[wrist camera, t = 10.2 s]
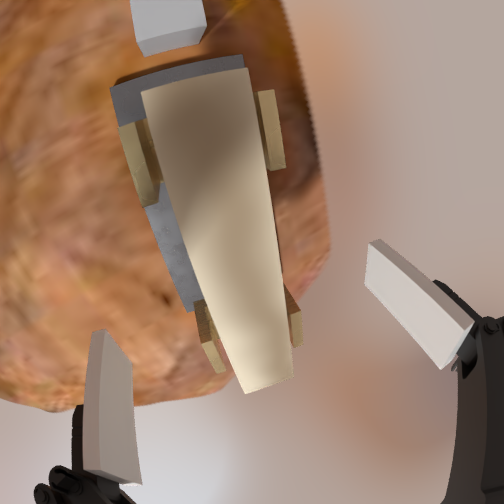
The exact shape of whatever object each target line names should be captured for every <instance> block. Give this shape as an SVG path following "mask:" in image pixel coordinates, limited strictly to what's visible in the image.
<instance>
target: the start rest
mask: <svg viewBox="0 0 504 504" xmlns="http://www.w3.org/2000/svg"><path fill="white" fill-rule="evenodd" d="M130 5H131V12H132V18H133V24H134V30H135V36H136V41H137V44H138V46H139V48H140V50H141V52H142V53H143V55H144V57H147V56H150V55H154V54H157V53H161V52H165V51H169V50H173V49H177V48H181V47H186V46H190V45H195V44H199V42H200V40H201V38H202V35H203V33H204V31H205V29H206V27H207V23H206V18H205V13H204V8H203V3H202V0H130Z"/></svg>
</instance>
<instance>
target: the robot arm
mask: <svg viewBox="0 0 504 504" xmlns="http://www.w3.org/2000/svg"><path fill="white" fill-rule="evenodd" d="M364 285H365V286H366V287H367V288H368V289H369V290H370V291H371V292H372V293H373V294H374V295H375V296H376V297H377V298H378V299H379V300H380V302H381V303H382V304H383V305H384V306H385V307H386V308H387V309H388V310H389V311H390V312H391V313H392V314H393V316H394V317H395V318H396V319H397V320H398V321H399V322H400V323H401V324H402V326H403V327H404V328H405V329H406V330H407V331H408V332H409V333H410V335H411V336H412V337H413V338H414V339H415V340H416V341H417V343H418V344H419V345H420V346H421V347H422V348H423V350H424V351H425V352H426V353H427V354H428V356H429V357H430V358H431V359H432V360H433V361H434V363H435V364H436V365H437V366H438V367H439V369H440V370H441V369H442V368H443V367H445V366H446V365H447V364H448V363H450V362H451V360H452V359H453V358H454V356H455V354H457V355H458V356H459V357H458V358H457V360H456V361H455V363H454V364H453V366H452V368H451V371H453V370H454V369H455V368H456V366H457V369H456V371H458V411H457V428H456V439H455V447H454V455H453V462H452V468H451V473H450V478H449V483H448V488H447V492H446V496H445V498H444V500H443V501H442V503H441V504H504V316H503V317H500V318H498V319H494V318H492V317H489V316H487V317H483V318H482V317H481V316H479V315H478V314H477V313H476V312H475V311H474V310H473V309H472V308H471V307H470V306H469V305H468V304H467V303H466V302H465V301H463V300H462V299H461V298H459V297H458V295H457V294H456V293H455V292H453V291H452V290H451V289H450V288H449V287H448V286H447V285H446V284H444V283H442V282H440V281H438V280H434V281H431V280H430V279H428V278H427V277H426V276H425V275H424V274H423V273H422V272H420V271H419V270H418V269H417V268H416V267H414V266H413V265H412V264H411V263H410V262H408V261H407V260H406V259H405V258H404V257H402V256H401V255H400V254H399V253H397V252H396V251H395V250H393V249H392V248H391V247H390V246H389V245H387V244H386V243H385V242H383V241H382V240H381V239H378V240H375V241H373V242H370V243H369V245H368V257H367V267H366V276H365V284H364ZM72 427H73V429H72V470H70V469H68V468H66V467H63V466H61V465H60V466H55V467H54V468H52V470H51V471H50V473H49V485H50V486H48V485H45V484H43V483H40V484H38V485H37V486H36V487H35V489H34V498H35V501H36V504H136V503H135V502H134V501H133V500H132V499H131V498H130V497H129V496H128V495H127V494H126V493H125V492H124V491H123V490H121V489H120V488H119V483H120V484H123V485H126V486H136V485H137V486H138V485H142V479H141V473H140V467H139V459H138V452H137V442H136V432H135V421H134V405H133V380H132V362H131V361H130V360H129V359H128V357H127V356H126V355H125V354H124V352H123V351H122V350H121V349H120V347H119V346H118V345H117V343H116V342H115V341H114V339H113V338H112V337H111V335H110V334H109V333H108V331H107V330H106V329H102V330H99V331H95V332H92V337H91V343H90V350H89V357H88V365H87V373H86V383H85V394H84V404H83V405H77V406H76V408H75V411H74V414H73V418H72Z"/></svg>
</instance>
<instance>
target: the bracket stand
mask: <svg viewBox="0 0 504 504" xmlns="http://www.w3.org/2000/svg"><path fill="white" fill-rule="evenodd" d="M241 68H245V65H244V60H243V55H242V54H240V55H233V56H226V57H220V58H214V59H208V60H203V61H198V62H194V63H189V64H185V65H181V66H176V67H173V68H169V69H165V70H161V71H158V72H154V73H151V74H148V75H145V76H141V77H138V78H135V79H132V80H130V81H127V82H124V83H121V84H118V85H116V86H113V87H111V88H110V92H111V96H112V100H113V105H114V109H115V113H116V117H117V121H118V124H119V128H118V132H119V135H120V139H121V142H122V146H123V149H124V153H125V156H126V159H127V162H128V166H129V169H130V172H131V175H132V178H133V181H134V184H135V187H136V190H137V193H138V196H139V199H140V202H141V205H142V208H145V211H146V214H147V216H148V219H149V222H150V225H151V227H152V230H153V233H154V235H155V238H156V240H157V243H158V246H159V248H160V251H161V253H162V256H163V258H164V260H165V263H166V265H167V268H168V270H169V273H170V275H171V277H172V280H173V282H174V284H175V287H176V289H177V291H178V293H179V296H180V298H181V300H182V302H183V304H184V307H185V309H186V311H187V313H188V312H191V311H195V315H196V321H197V326H198V331H199V336H200V341H201V345H202V347H203V349H204V351H205V353H206V355H207V357H208V358H209V360H210V362H211V364H212V366H213V368H214V370H215V372H216V373H217V374H218V373H221V372H224V371H226V368H225V364H224V361H223V357H222V353H221V350H220V346H219V342H218V339H220V336H219V334H218V331H217V329H216V326H215V324H214V321H213V319H212V316H211V314H210V311H209V309H208V306H207V304H206V301H205V298H204V296H203V293H202V291H201V288H200V285H199V283H198V280H197V277H196V274H195V272H194V269H193V266H192V263H191V261H190V258H189V255H188V252H187V249H186V246H185V244H184V241H183V238H182V235H181V232H180V229H179V226H178V223H177V220H176V217H175V214H174V210H173V207H172V204H171V201H170V198H169V195H168V191H167V188H166V185H165V181H164V178H163V175H162V171H161V168H160V164H159V161H158V157H157V154H156V150H155V147H154V143H153V139H152V135H151V132H150V128H149V124H148V120H147V116H146V112H145V108H144V104H143V99H142V95H141V92H142V91H145V90H149V89H152V88H155V87H158V86H162V85H165V84H169V83H173V82H176V81H180V80H184V79H188V78H193V77H197V76H202V75H207V74H212V73H217V72H222V71H228V70H234V69H241ZM253 97H254V103H255V108H256V114H257V119H258V125H259V131H260V136H261V142H262V148H263V154H264V160H265V166H266V168H267V169H269V170H270V171H274V170H279V169H283V168H286V162H285V155H284V148H283V141H282V134H281V128H280V121H279V115H278V109H277V103H276V97H275V91H274V89H272V90H264V91H257V92H253ZM283 287H284V295H285V303H286V311H287V319H288V327H289V335H290V341H291V343H292V345H293V347H294V348H295V347H298V346H301V345H303V334H302V333H303V332H302V318H301V310H300V309H299V307H298V305H297V304H296V302H295V300H294V299H293V297H292V296H291V294H290V292H289V291H288V289H287V288H286V286H285V284H284V283H283Z"/></svg>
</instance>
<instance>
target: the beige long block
mask: <svg viewBox="0 0 504 504" xmlns="http://www.w3.org/2000/svg"><path fill="white" fill-rule="evenodd" d="M141 95H142V99H143V104H144V108H145V112H146V116H147V120H148V124H149V128H150V132H151V135H152V139H153V143H154V147H155V150H156V154H157V157H158V161H159V164H160V168H161V171H162V175H163V178H164V181H165V185H166V188H167V191H168V195H169V198H170V201H171V204H172V207H173V210H174V214H175V217H176V220H177V223H178V226H179V229H180V232H181V235H182V238H183V241H184V244H185V246H186V249H187V252H188V255H189V258H190V261H191V263H192V266H193V269H194V272H195V274H196V277H197V280H198V283H199V285H200V288H201V291H202V293H203V296H204V298H205V301H206V304H207V306H208V309H209V311H210V314H211V316H212V319H213V321H214V324H215V326H216V329H217V331H218V334H219V336H220V338H221V341H222V343H223V346H224V348H225V350H226V353H227V355H228V357H229V360H230V362H231V364H232V367H233V369H234V371H235V373H236V376H237V378H238V380H239V382H240V385H241V387H242V389H243V391H244V393H245V394H247V393H249V392H253V391H256V390H259V389H262V388H265V387H268V386H271V385H274V384H277V383H279V382H282V381H285V380H287V379H290V378H293V377H294V371H293V362H292V353H291V344H290V335H289V327H288V319H287V311H286V303H285V295H284V287H283V280H282V272H281V265H280V258H279V251H278V244H277V237H276V230H275V223H274V216H273V210H272V203H271V197H270V191H269V184H268V178H267V172H266V166H265V160H264V154H263V148H262V142H261V136H260V131H259V125H258V119H257V114H256V108H255V103H254V97H253V92H252V87H251V81H250V76H249V71H248V68H241V69H234V70H228V71H222V72H217V73H212V74H207V75H202V76H197V77H193V78H188V79H184V80H180V81H176V82H173V83H169V84H165V85H162V86H158V87H155V88H152V89H149V90H145V91H142V92H141Z"/></svg>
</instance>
